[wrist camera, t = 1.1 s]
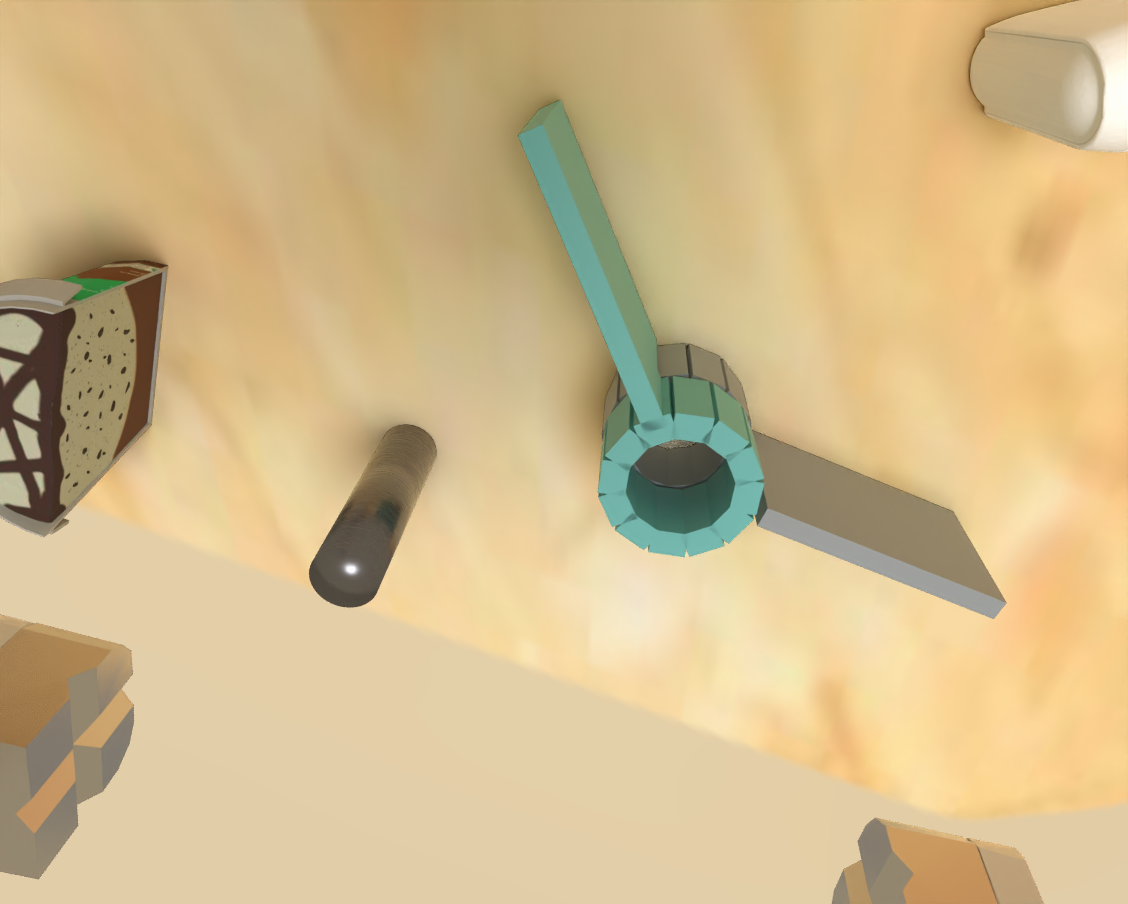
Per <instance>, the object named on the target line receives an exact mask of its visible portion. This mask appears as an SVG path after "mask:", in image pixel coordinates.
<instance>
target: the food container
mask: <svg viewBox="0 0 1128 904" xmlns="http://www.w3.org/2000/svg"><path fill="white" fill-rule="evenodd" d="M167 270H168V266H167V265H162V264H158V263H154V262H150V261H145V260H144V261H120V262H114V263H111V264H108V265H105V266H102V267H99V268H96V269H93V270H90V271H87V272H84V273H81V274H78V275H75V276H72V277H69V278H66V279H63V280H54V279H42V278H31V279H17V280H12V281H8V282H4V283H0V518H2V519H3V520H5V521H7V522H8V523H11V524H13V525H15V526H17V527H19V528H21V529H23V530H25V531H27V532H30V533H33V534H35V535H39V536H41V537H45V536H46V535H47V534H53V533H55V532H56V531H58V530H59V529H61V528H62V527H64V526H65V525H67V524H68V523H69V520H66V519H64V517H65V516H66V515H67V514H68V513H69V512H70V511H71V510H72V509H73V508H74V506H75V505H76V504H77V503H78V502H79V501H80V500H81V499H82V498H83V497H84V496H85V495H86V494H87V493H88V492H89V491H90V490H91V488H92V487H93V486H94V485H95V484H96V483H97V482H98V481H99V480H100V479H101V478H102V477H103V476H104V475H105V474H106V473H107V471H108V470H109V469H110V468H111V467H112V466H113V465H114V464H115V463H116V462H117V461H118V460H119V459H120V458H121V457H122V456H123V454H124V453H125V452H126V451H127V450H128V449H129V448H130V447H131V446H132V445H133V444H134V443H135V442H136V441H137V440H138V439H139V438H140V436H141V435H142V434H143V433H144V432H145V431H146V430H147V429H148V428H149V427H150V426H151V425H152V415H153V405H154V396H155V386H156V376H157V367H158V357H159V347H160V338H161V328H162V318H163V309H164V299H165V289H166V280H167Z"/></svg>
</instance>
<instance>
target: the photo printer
mask: <svg viewBox="0 0 1128 904" xmlns="http://www.w3.org/2000/svg"><path fill="white" fill-rule="evenodd" d="M970 80H971V86H972V89H973V92H974V94H975V96H976V97H977V99H978V100H979V101H980V102H981V103H982V104H983V105H984V106H985V111H984V113H985V115H987V116H988V117H990V118H993V119H995V120H998V121H1001V122H1004V123H1007V124H1010V125H1012V126H1016V127H1018V128H1021V129H1023V130H1026V131H1029V132H1032V133H1035V134H1037V135H1040V136H1043V137H1046V138H1048V139H1051V140H1054V141H1056V142H1059V143H1062V144H1065V145H1067V146H1070V147H1072V148H1075V149H1079V150H1086V151H1103V152H1128V0H1078V1H1074V2H1070V3H1065V4H1061V5H1057V6H1053V7H1049V8H1044V9H1040V10H1036V11H1032V12H1029V13H1025V14H1021V15H1017V16H1014V17H1012V18H1009V19H1006V20H1003V21H1001V22H998V23H996V24H993V25H991V26H989V27H987V28H986V29H985V37H984V38H983V39H982V40H981V41H980V43H979V44H978V46H977V48H976V50H975V53H974V55H973V58H972V62H971V68H970Z"/></svg>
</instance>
